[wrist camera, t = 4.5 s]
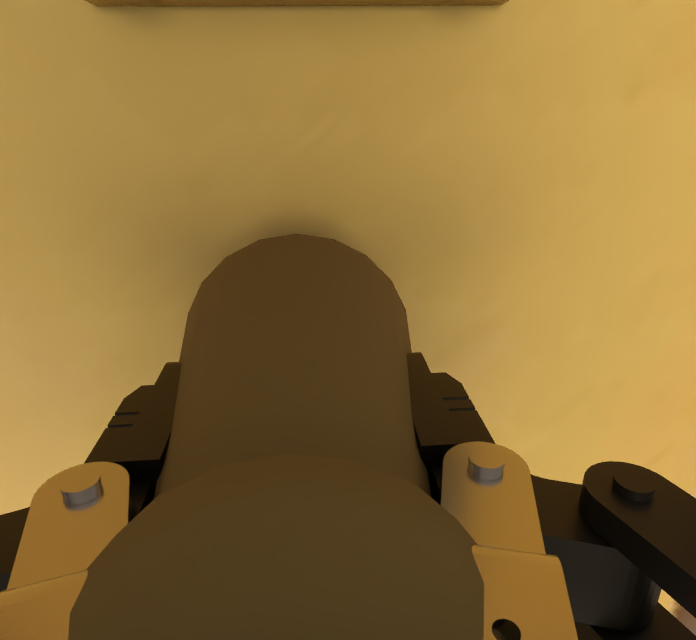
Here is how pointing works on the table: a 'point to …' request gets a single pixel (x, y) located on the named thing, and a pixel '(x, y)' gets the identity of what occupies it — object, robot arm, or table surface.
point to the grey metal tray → (288, 2)
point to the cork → (290, 473)
